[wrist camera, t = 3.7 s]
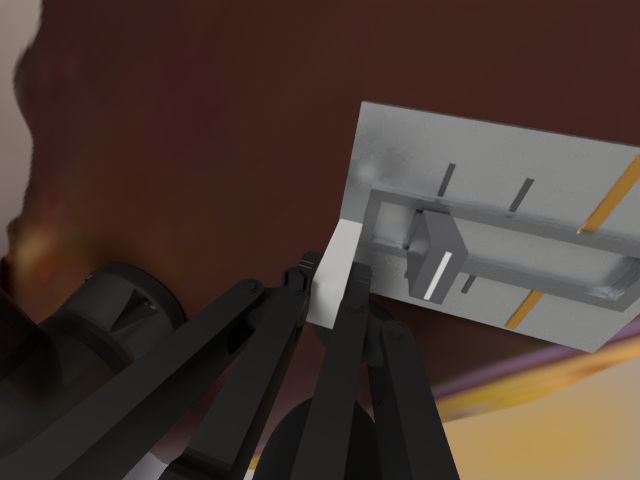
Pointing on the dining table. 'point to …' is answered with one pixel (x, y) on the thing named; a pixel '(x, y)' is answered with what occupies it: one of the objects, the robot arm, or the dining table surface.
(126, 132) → the dining table surface
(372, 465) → the wine glass
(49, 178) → the dining table surface
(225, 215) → the dining table surface
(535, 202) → the console
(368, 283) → the robot arm
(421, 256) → the fader knob
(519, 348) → the dining table surface
